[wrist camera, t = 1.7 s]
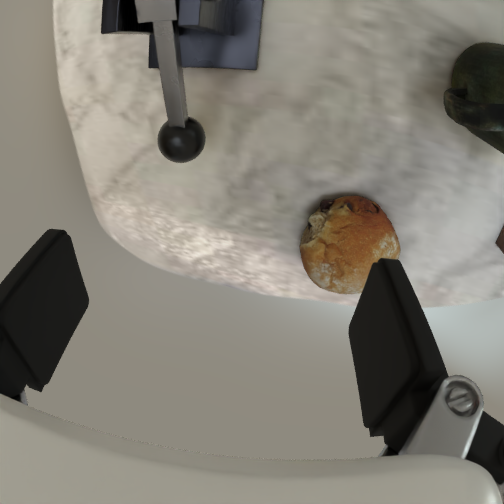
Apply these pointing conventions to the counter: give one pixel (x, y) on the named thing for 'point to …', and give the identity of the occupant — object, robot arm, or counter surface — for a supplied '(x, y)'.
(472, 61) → the mug
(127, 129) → the counter surface
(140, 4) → the lever handle
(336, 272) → the bread roll
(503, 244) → the control block
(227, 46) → the lever base
